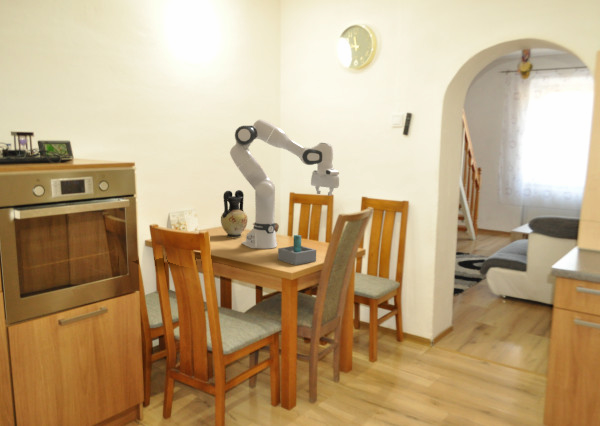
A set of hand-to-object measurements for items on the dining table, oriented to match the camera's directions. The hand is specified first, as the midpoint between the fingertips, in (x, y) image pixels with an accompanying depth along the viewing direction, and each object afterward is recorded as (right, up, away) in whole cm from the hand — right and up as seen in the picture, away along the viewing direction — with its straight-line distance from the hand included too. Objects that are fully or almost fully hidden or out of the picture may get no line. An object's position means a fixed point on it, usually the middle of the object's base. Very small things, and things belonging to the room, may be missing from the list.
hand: (324, 194), depth 274 cm
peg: (-16, -34, -31) cm, 49 cm away
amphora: (-57, -26, +28) cm, 68 cm away
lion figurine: (-34, -27, +29) cm, 52 cm away
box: (-16, -35, -31) cm, 50 cm away
